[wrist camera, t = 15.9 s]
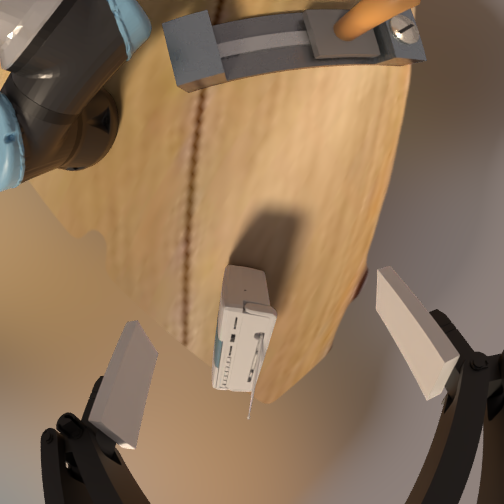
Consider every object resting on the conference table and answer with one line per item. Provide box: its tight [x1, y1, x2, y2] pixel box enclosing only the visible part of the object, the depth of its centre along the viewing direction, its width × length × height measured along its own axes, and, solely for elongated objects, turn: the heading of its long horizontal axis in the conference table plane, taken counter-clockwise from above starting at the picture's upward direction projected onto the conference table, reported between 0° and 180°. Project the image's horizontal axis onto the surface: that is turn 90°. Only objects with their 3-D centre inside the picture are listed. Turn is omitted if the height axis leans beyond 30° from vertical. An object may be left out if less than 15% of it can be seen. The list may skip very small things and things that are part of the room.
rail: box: [162, 9, 427, 93], centre depth 28 cm, size 36×10×9 cm, turn 103°
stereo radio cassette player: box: [212, 265, 277, 419], centre depth 44 cm, size 21×8×20 cm, turn 170°
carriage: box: [302, 0, 421, 59], centre depth 20 cm, size 10×8×19 cm
